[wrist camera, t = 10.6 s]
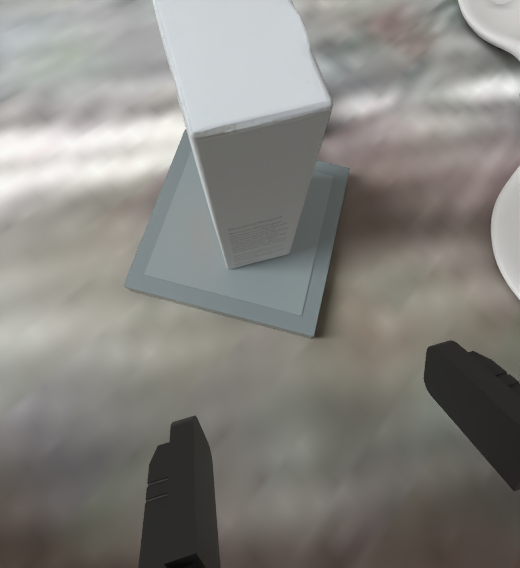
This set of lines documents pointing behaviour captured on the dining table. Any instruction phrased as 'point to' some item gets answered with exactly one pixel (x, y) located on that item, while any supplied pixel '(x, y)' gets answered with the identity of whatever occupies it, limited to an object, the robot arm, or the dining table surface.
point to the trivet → (246, 279)
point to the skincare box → (248, 115)
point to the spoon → (516, 193)
